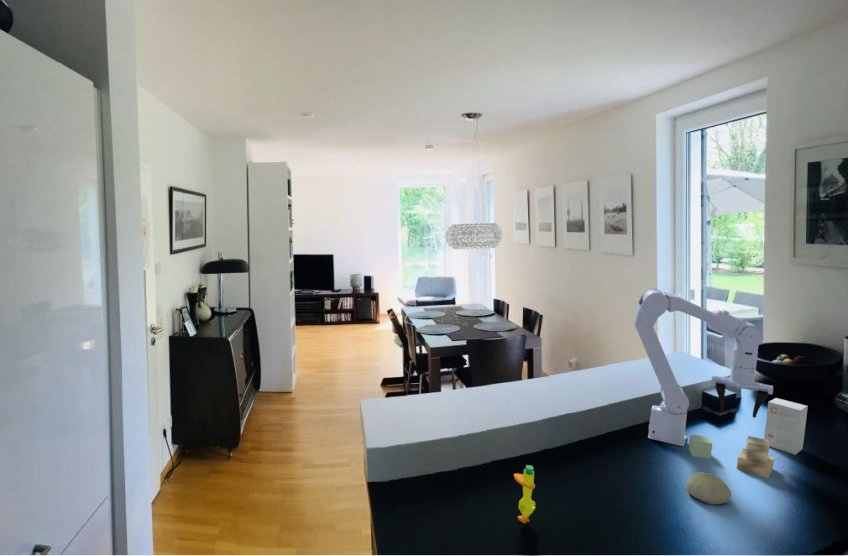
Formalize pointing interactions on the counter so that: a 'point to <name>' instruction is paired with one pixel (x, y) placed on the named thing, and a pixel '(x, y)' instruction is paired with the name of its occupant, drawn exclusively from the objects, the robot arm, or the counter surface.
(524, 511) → the toy figure
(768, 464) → the oak slab
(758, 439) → the birch cube
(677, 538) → the counter surface
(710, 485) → the sea urchin shell
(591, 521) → the counter surface
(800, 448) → the small box
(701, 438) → the sage cube
